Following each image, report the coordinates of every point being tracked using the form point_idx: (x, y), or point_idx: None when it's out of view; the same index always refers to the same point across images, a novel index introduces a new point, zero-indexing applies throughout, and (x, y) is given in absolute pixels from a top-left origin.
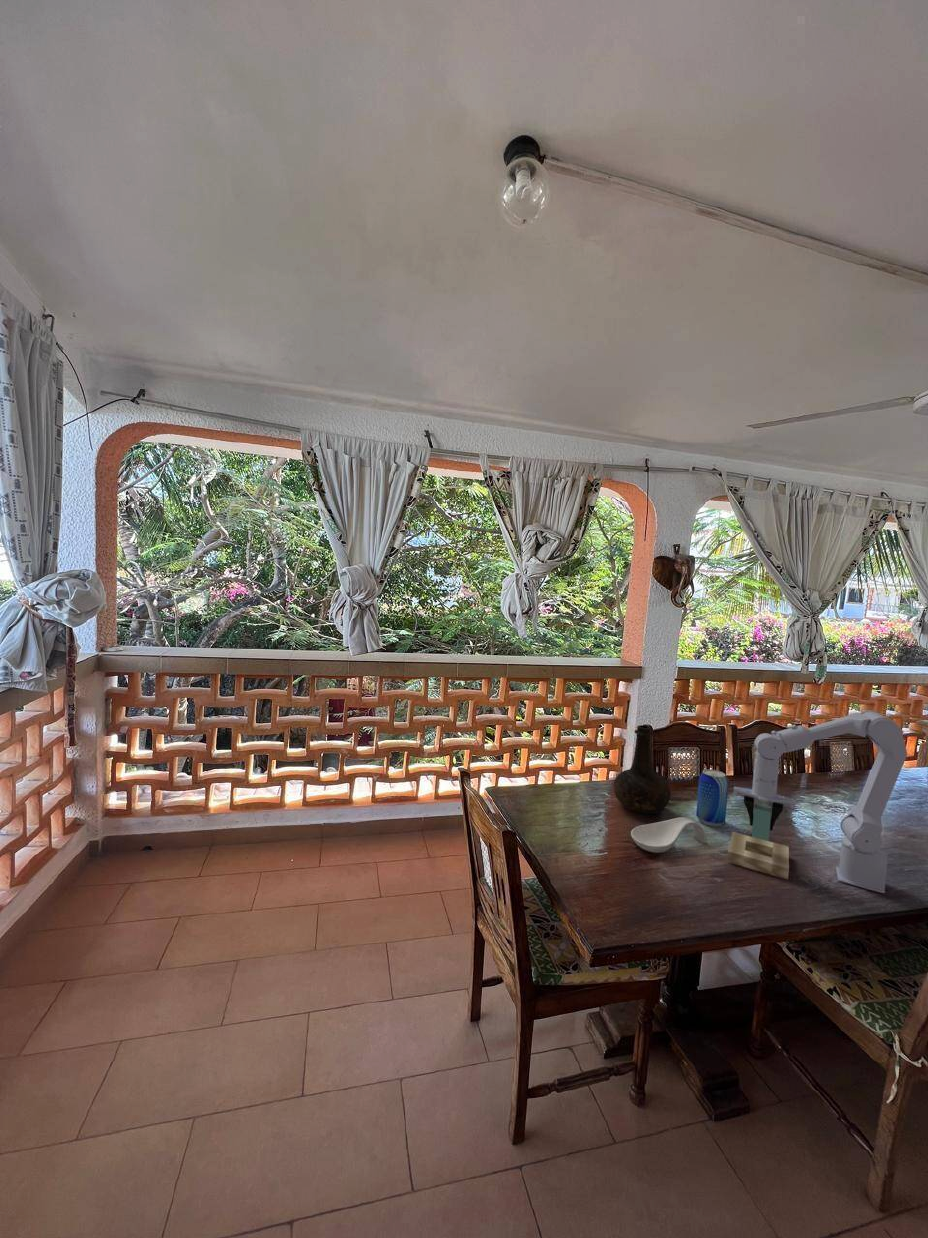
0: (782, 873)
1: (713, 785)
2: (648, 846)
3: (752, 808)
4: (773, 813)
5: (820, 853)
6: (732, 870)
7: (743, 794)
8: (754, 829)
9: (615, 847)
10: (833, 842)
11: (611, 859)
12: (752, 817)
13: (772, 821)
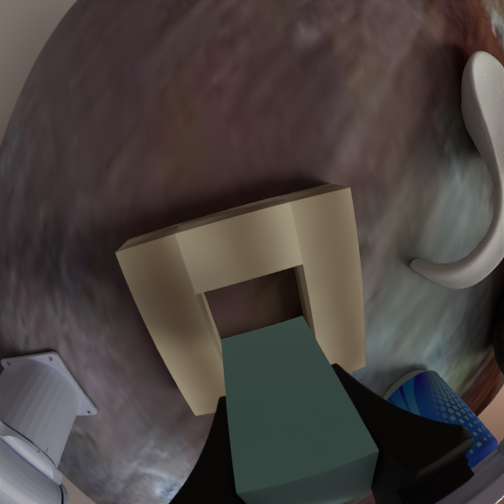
0: (141, 237)
1: (473, 452)
2: (483, 51)
3: (388, 442)
4: (217, 492)
5: (157, 449)
6: (296, 132)
7: (477, 481)
8: (305, 345)
9: (501, 63)
10: (169, 487)
11: (477, 10)
12: (350, 397)
13: (221, 439)
